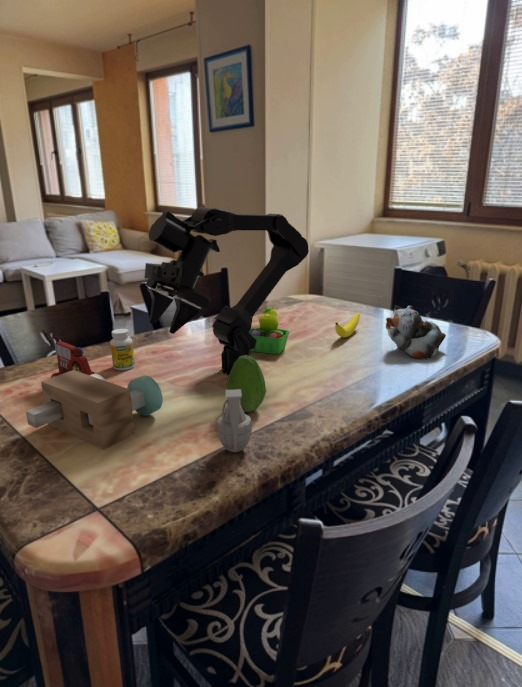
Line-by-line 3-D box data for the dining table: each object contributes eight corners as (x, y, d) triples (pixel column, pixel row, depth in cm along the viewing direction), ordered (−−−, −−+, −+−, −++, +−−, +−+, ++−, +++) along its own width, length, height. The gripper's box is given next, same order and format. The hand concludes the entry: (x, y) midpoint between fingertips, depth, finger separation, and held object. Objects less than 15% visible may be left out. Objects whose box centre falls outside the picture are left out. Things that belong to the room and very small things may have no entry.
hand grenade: (218, 442, 89) (215, 386, 85) (250, 440, 89) (249, 384, 86) (218, 461, 83) (215, 402, 79) (253, 460, 83) (252, 400, 80)
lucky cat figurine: (430, 363, 125) (406, 316, 122) (391, 369, 134) (368, 325, 131) (453, 334, 134) (432, 289, 131) (415, 341, 143) (394, 299, 140)
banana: (363, 328, 155) (364, 308, 153) (340, 345, 140) (341, 323, 138) (354, 326, 156) (355, 307, 154) (330, 343, 141) (331, 322, 139)
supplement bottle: (130, 361, 129) (127, 326, 126) (138, 368, 124) (134, 331, 121) (110, 366, 126) (106, 330, 123) (117, 372, 122) (112, 335, 119)
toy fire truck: (77, 401, 106) (70, 356, 103) (48, 387, 114) (41, 344, 111) (105, 391, 111) (99, 347, 108) (76, 378, 119) (70, 336, 116)
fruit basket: (241, 351, 135) (240, 311, 132) (254, 342, 143) (253, 304, 139) (281, 356, 131) (281, 315, 127) (291, 346, 139) (292, 307, 135)
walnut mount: (90, 406, 104) (84, 365, 101) (145, 427, 94) (141, 384, 92) (22, 434, 92) (14, 390, 90) (78, 463, 83) (71, 414, 80)
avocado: (252, 422, 96) (251, 364, 92) (219, 413, 100) (217, 357, 96) (273, 407, 102) (272, 352, 99) (241, 398, 106) (240, 346, 103)
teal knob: (138, 406, 102) (134, 371, 100) (164, 415, 98) (161, 379, 96) (82, 432, 92) (77, 394, 90) (108, 443, 88) (104, 404, 86)
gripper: (140, 241, 109) (111, 306, 108) (182, 250, 95) (148, 324, 94) (180, 262, 116) (153, 323, 116) (224, 274, 102) (194, 343, 102)
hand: (161, 328), depth 107 cm, fingers open, 9 cm apart
